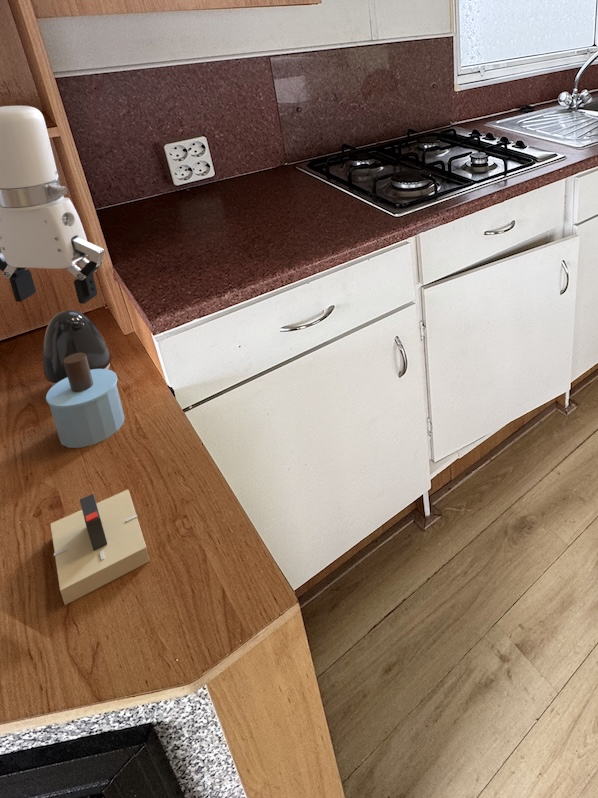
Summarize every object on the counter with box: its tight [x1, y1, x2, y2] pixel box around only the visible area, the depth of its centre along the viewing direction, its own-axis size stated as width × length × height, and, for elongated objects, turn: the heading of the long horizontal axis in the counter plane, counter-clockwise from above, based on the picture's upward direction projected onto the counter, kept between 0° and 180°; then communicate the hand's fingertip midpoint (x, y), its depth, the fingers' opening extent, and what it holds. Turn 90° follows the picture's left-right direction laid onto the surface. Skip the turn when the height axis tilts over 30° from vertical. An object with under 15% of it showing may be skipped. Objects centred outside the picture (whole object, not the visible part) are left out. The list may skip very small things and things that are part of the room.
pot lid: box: [45, 353, 119, 409], centre depth 94 cm, size 10×10×7 cm
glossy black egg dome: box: [42, 309, 112, 387], centre depth 107 cm, size 10×10×15 cm
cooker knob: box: [79, 493, 107, 551], centre depth 75 cm, size 5×2×5 cm, turn 42°
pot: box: [48, 384, 125, 449], centre depth 96 cm, size 9×9×8 cm
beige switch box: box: [50, 489, 151, 606], centre depth 76 cm, size 12×9×3 cm
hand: (57, 298), depth 89 cm, fingers open, 9 cm apart
